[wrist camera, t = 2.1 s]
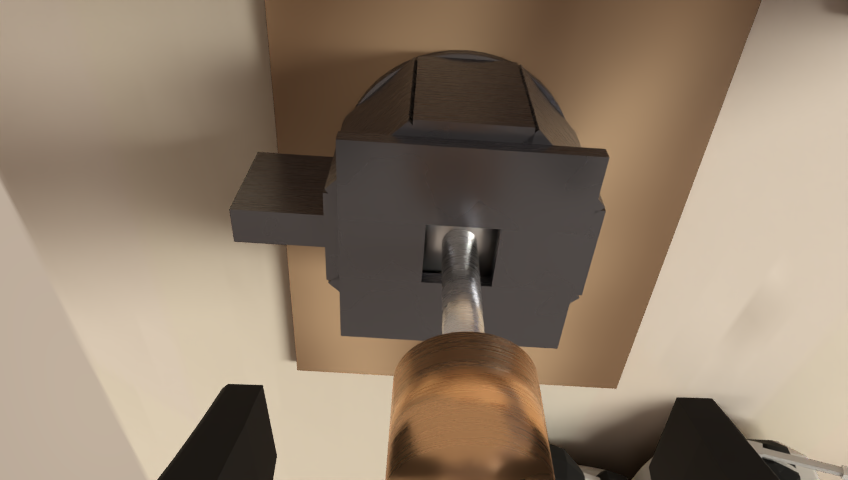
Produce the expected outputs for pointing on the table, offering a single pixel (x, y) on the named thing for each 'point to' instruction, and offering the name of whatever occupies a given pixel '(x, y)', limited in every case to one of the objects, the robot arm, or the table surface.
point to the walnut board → (582, 108)
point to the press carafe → (440, 198)
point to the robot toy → (781, 459)
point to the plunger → (466, 383)
